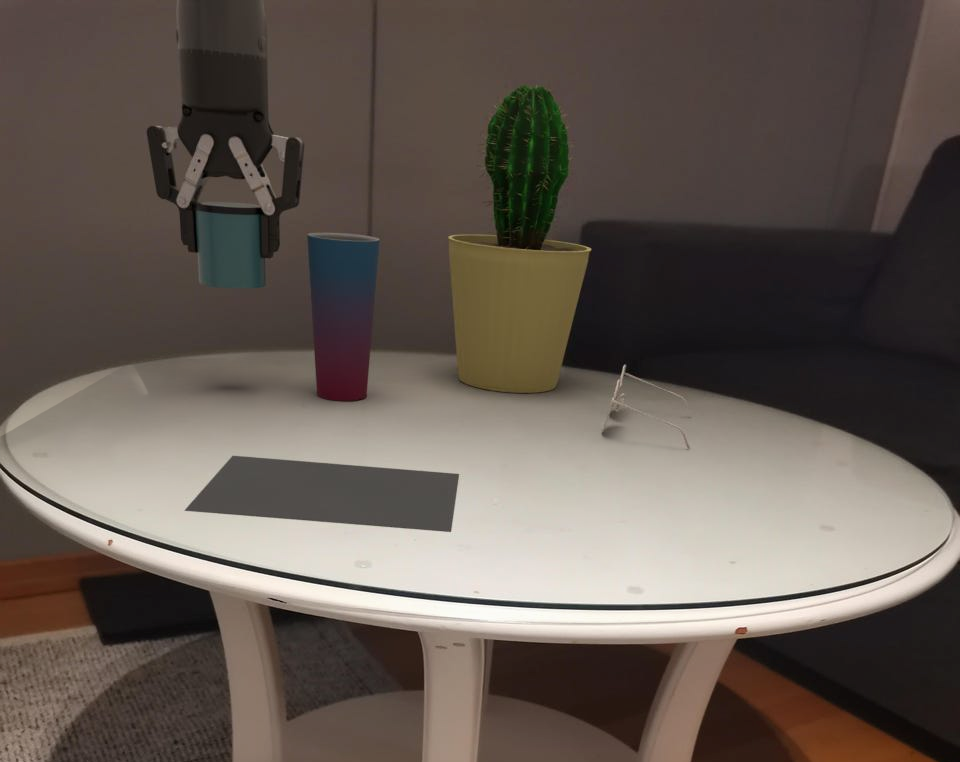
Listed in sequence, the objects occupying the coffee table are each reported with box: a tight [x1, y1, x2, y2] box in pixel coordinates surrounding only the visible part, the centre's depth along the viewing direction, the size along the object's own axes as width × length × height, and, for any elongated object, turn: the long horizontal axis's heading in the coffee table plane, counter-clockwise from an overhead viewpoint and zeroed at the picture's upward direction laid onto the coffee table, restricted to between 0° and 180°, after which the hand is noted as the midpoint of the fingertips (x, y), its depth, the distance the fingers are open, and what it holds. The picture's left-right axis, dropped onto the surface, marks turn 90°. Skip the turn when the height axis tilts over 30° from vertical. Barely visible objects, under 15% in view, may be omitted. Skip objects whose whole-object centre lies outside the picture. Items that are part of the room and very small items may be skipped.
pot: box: [194, 200, 267, 290], centre depth 94 cm, size 6×11×7 cm, turn 179°
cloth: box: [184, 455, 460, 533], centre depth 71 cm, size 18×13×1 cm
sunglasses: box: [601, 364, 693, 449], centre depth 96 cm, size 14×8×5 cm, turn 168°
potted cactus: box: [447, 79, 592, 394], centre depth 104 cm, size 15×15×30 cm
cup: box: [306, 232, 380, 402], centre depth 96 cm, size 7×7×15 cm
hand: (231, 254), depth 92 cm, fingers closed on pot, 6 cm apart
